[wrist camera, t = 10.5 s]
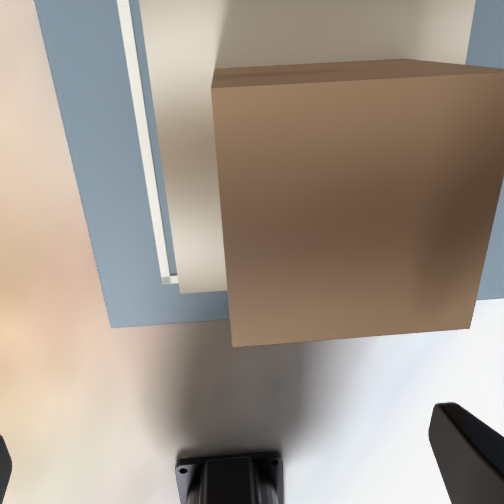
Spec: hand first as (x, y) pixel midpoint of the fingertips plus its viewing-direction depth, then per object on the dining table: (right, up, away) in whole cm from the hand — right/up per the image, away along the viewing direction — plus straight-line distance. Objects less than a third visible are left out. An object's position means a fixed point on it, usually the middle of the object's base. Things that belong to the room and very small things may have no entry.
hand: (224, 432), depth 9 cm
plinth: (+2, +8, +8) cm, 12 cm away
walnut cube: (+3, +7, +6) cm, 9 cm away
